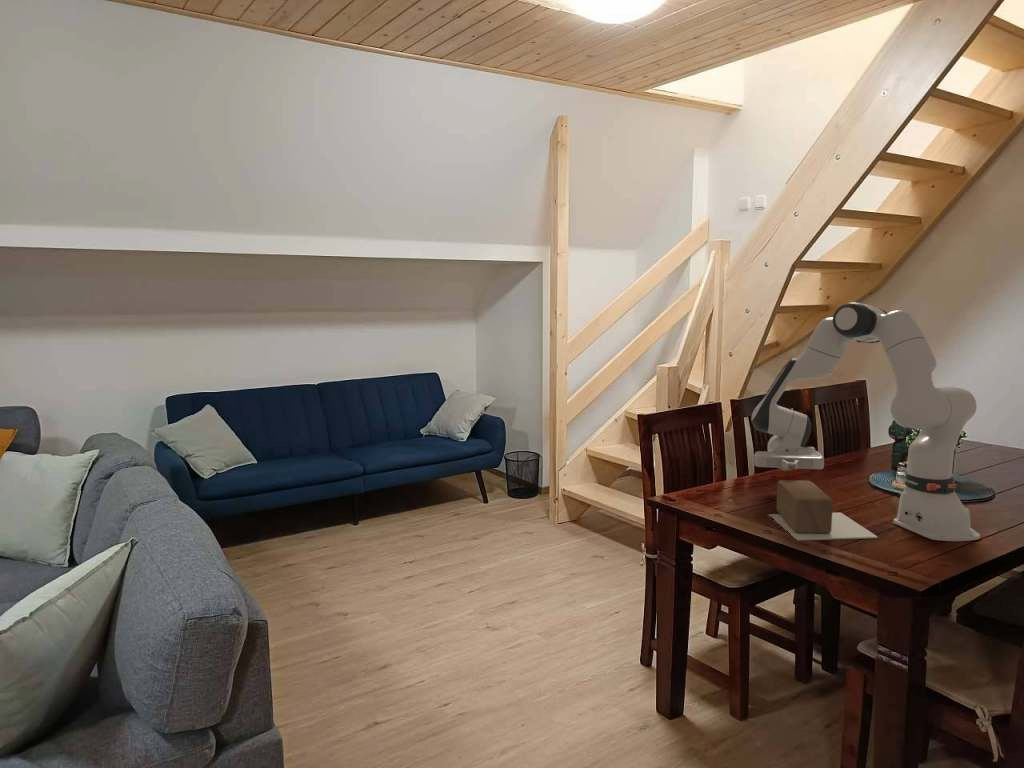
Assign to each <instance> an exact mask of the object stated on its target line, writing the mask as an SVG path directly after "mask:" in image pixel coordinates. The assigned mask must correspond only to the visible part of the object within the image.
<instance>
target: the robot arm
mask: <svg viewBox="0 0 1024 768" xmlns="http://www.w3.org/2000/svg"><path fill="white" fill-rule="evenodd" d="M809 338H810V339H809V340H808V342H807V344H806V346H805V348H804V350H803V351H802V353H800V355H798V356H797V357H793V358H790V359H789V360H788V361H787V362H786V363H785V364H784V366H783V368H782V369H781V370H780V372H779V373H778V375H777V376H776V378H775V379H774V381H773V382H772V384H771V386H769V388H768V390H767V391H766V393H765V395H764V396H763V397H762V399H761V400H760V402H759V403H758V404H757V405H756V407H754V410H753V411H752V413H751V418H750V421H751V424H752V426H753V428H755V430H756V431H758V432H761V433H766V434H771V435H772V436H771V438H770V439H768V443H767V451H766V450H765V451H762V450H761V451H759V450H758V451H755V452H754V453H753V454H752V455H751V458H752V459H753V460H754V466H755V467H758V468H775V469H776V468H777V469H778V470H781V471H792V470H799V469H801V470H802V469H803V470H804V469H805V470H809V469H810V470H823V469H824V467H825V458H824V456H823V455H822V454H821V453H820V452H819V451H817V450H816V448H815V447H813V446H808V445H806V444H807V442H808V440H809V439H810V435H811V433H812V422H811V420H810V417H809V416H808V415H807V414H804V413H802V412H799V411H796V410H792V409H790V408H787V407H784V406H781V405H779V404H777V403H778V401H779V400H780V398H781V396H782V395H783V393H784V392H785V390H786V389H787V387H788V386H789V385H790V384H791V383H793V382H795V381H799V380H818V379H824V378H827V377H829V376H831V375H833V373H835V371H837V368H838V367H839V365H840V364H841V361H842V359H843V357H844V354H845V352H846V349H847V347H848V346H849V345H850V344H851V343H852V342H855V341H856V342H857V343H867V344H874V343H880V344H881V346H882V348H883V350H884V351H883V352H884V353H885V355H886V357H887V359H888V362H889V364H890V367H891V369H892V371H893V374H894V379H895V384H896V391H895V396H894V398H893V399H892V401H891V403H890V414H891V417H892V419H893V420H894V421H895V422H896V423H897V424H898V425H900V426H902V427H907V428H914V429H921V431H920V433H919V435H918V436H917V438H916V439H915V440H914V441H913V442H912V443H911V444H910V446H909V451H908V456H907V468H906V469H907V471H906V472H905V473H904V475H905V476H904V486H905V488H904V490H903V491H902V493H901V494H900V495H899V496H900V497H899V502H898V508H897V514H896V517H894V518H893V520H892V523H893V524H895V525H897V526H899V527H902V528H904V529H906V530H908V531H910V532H914V533H916V534H918V535H920V536H922V537H925V538H926V539H930V540H933V541H943V542H969V541H976V540H979V539H981V534H980V533H979V532H977V531H976V530H974V528H972V527H971V511H970V509H969V508H966V507H965V505H964V504H963V503H962V500H960V498H959V497H958V495H957V493H956V489H957V488H958V487H957V486H958V484H957V483H955V480H954V477H953V466H954V465H953V464H954V457H955V455H954V453H955V449H956V446H957V443H958V440H959V438H960V436H961V434H962V431H963V429H964V428H965V426H966V424H967V423H968V422H969V421H970V420H971V419H972V418H973V417H974V416H975V414H976V411H977V401H976V398H975V397H974V395H973V393H971V392H970V391H969V390H967V389H964V388H959V387H955V386H942V387H935V385H934V383H933V377H932V375H933V374H932V373H933V372H934V370H935V369H936V367H937V359H936V357H935V355H934V353H933V352H932V349H931V347H930V345H929V343H928V340H927V338H926V336H925V334H924V332H923V330H922V329H921V327H920V325H919V324H918V323H917V321H916V320H915V319H914V317H913V316H912V315H911V313H909V312H908V311H906V310H901V309H899V310H893V311H889V312H887V311H886V310H883V309H881V308H878V307H875V306H873V305H870V304H867V303H866V304H865V303H861V302H856V301H855V302H854V301H853V302H848V303H844V304H842V305H840V306H839V307H837V309H836V310H835V312H834V313H833V315H832V317H831V316H830V317H825V318H823V319H821V320H820V321H819V323H818V324H817V326H816V327H815V329H814V330H813V332H812V334H811V336H810V337H809ZM914 429H913V430H914Z"/></svg>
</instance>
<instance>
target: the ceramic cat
mask: <svg viewBox="0 0 1024 768" xmlns="http://www.w3.org/2000/svg"><path fill="white" fill-rule="evenodd" d="M912 429H913V428H907V427H902V426H900V425H898V424H897V423H896V422H895V421H894V419H893V420H892V422H891V424H890V426H889V427H888V431H887V433H888V436H889V438H890V439H893V440H894V442H893V444H892V453H891V454H890V455H891V467H890V468H891V469H896V468H897V465H898V463H899V462H904V461H905V462H906V459H908V447H907V444H906V442H905V441H906V436H907V435H909V434H912V433H913V431H912ZM913 430H914V429H913Z"/></svg>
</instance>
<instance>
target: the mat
mask: <svg viewBox="0 0 1024 768" xmlns="http://www.w3.org/2000/svg"><path fill="white" fill-rule="evenodd" d="M768 515H769V516H773V517H772V518H773V519H774V520H775V521H776V522H777V523H778V524H780V525H781V526H782V527H783V528H784V529H785V531H786V530H787V531H788V532H789V533H790V534H791V536H792V538H794V539H795V540H796V539H797V540H796V541H820V540H821V541H822V540H823V541H824V540H825V541H826V540H857V539H858V540H860V539H862V540H863V539H878V537H879V536H877V535H876V534H874V533H873V532H871V531H870V530H868V529H867V528H865V527H863V526H862V525H860V524H859V523H857V522H856V521H855V520H853V519H852V518H850V517H848V516H847V515H845V514H844V513H842V512H832V527H831V532H830V533H796V532H795V531H794V530H793V529H792V528H791V527H790V526H789V524H788V523H787V522H786V521H785V520H784V519H783V517H782V516H781V515H780V514H779V513H771V514H767V516H768ZM769 516H768V517H769ZM774 520H773V521H774ZM775 521H774V522H775ZM776 522H775V523H776ZM777 523H776V524H777ZM780 525H779V526H780ZM781 526H780V527H781ZM782 527H781V528H782ZM783 528H782V529H783ZM784 529H783V530H784ZM787 531H786V532H787ZM788 532H787V533H788ZM789 533H788V534H789ZM790 534H789V535H790Z"/></svg>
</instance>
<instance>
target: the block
mask: <svg viewBox="0 0 1024 768" xmlns="http://www.w3.org/2000/svg"><path fill="white" fill-rule="evenodd" d="M776 486H777V487H776V492H777V493H776V511H777V514H780V515H781V516H782V517H783V519H784V520H785V521H786V522H787V523H788V524H789V526H790V527H791V528H792V529H793V530H794V531H795V532H796V533H830V532H831V527H832V513H833V504H834V503H833V502H834V501H833V499H832V498H831V497H830V496H829V495H828V494H826V493H825V492H824V491H823V490H822V489H820V487H818V486H817V485H816V484H815V483H814V482H813V481H811V480H807V479H806V480H804V479H803V480H800V479H798V480H797V479H795V480H793V479H788V480H787V479H786V480H785V479H783V480H782V479H780V480H778V482H777V483H776Z"/></svg>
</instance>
